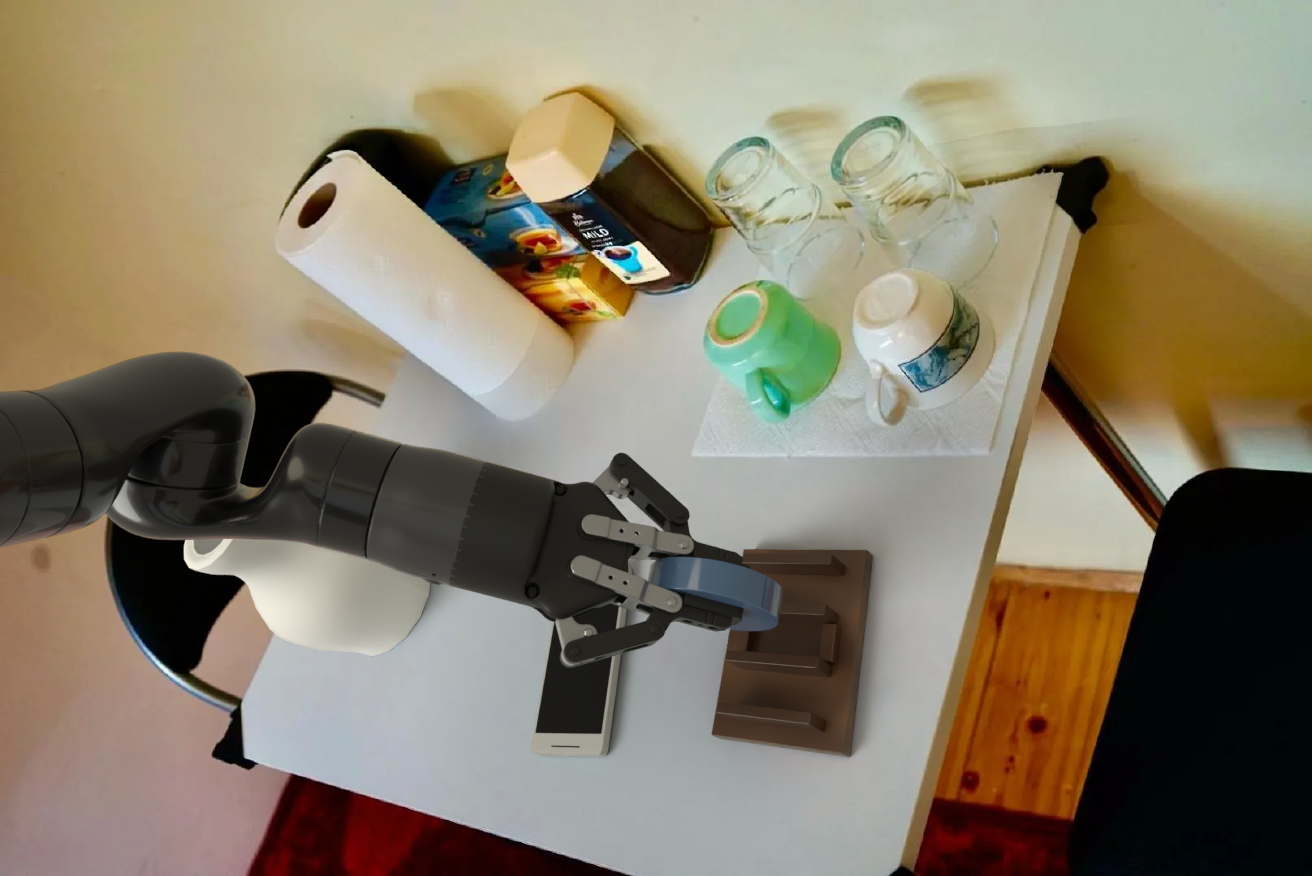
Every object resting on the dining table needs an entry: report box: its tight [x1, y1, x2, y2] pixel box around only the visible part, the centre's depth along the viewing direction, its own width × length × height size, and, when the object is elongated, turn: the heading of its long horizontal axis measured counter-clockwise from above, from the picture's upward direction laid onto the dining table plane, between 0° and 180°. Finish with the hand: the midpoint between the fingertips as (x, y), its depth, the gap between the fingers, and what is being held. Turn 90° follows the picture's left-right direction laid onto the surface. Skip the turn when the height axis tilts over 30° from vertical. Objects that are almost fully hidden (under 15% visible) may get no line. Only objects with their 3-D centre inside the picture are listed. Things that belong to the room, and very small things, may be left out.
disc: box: [646, 557, 783, 631], centre depth 55 cm, size 2×8×8 cm, turn 76°
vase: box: [183, 483, 431, 657], centre depth 84 cm, size 14×14×20 cm
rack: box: [711, 548, 874, 758], centre depth 63 cm, size 14×10×4 cm
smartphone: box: [530, 564, 633, 758], centre depth 73 cm, size 7×15×1 cm, turn 172°
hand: (741, 595), depth 54 cm, fingers closed on disc, 2 cm apart
